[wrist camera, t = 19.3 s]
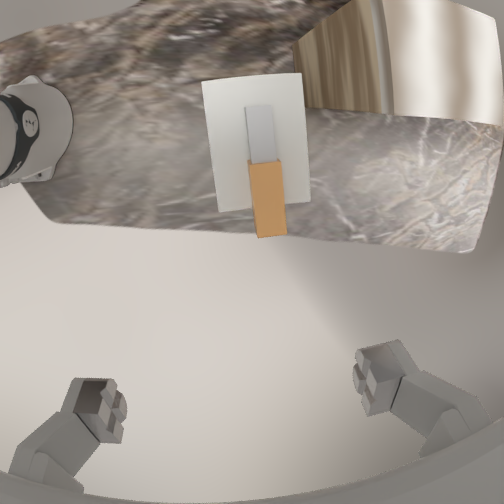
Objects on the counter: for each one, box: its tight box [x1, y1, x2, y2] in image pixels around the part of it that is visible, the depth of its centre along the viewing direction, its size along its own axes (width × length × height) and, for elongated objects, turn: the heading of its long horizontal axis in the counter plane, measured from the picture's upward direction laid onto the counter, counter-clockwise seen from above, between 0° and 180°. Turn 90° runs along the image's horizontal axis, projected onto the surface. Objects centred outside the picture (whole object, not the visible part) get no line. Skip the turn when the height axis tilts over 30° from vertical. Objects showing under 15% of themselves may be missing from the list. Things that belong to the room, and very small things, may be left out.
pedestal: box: [201, 73, 311, 213], centre depth 38 cm, size 10×14×16 cm
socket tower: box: [292, 0, 504, 126], centre depth 29 cm, size 12×10×28 cm
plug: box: [244, 105, 287, 238], centre depth 31 cm, size 3×13×3 cm, turn 6°
